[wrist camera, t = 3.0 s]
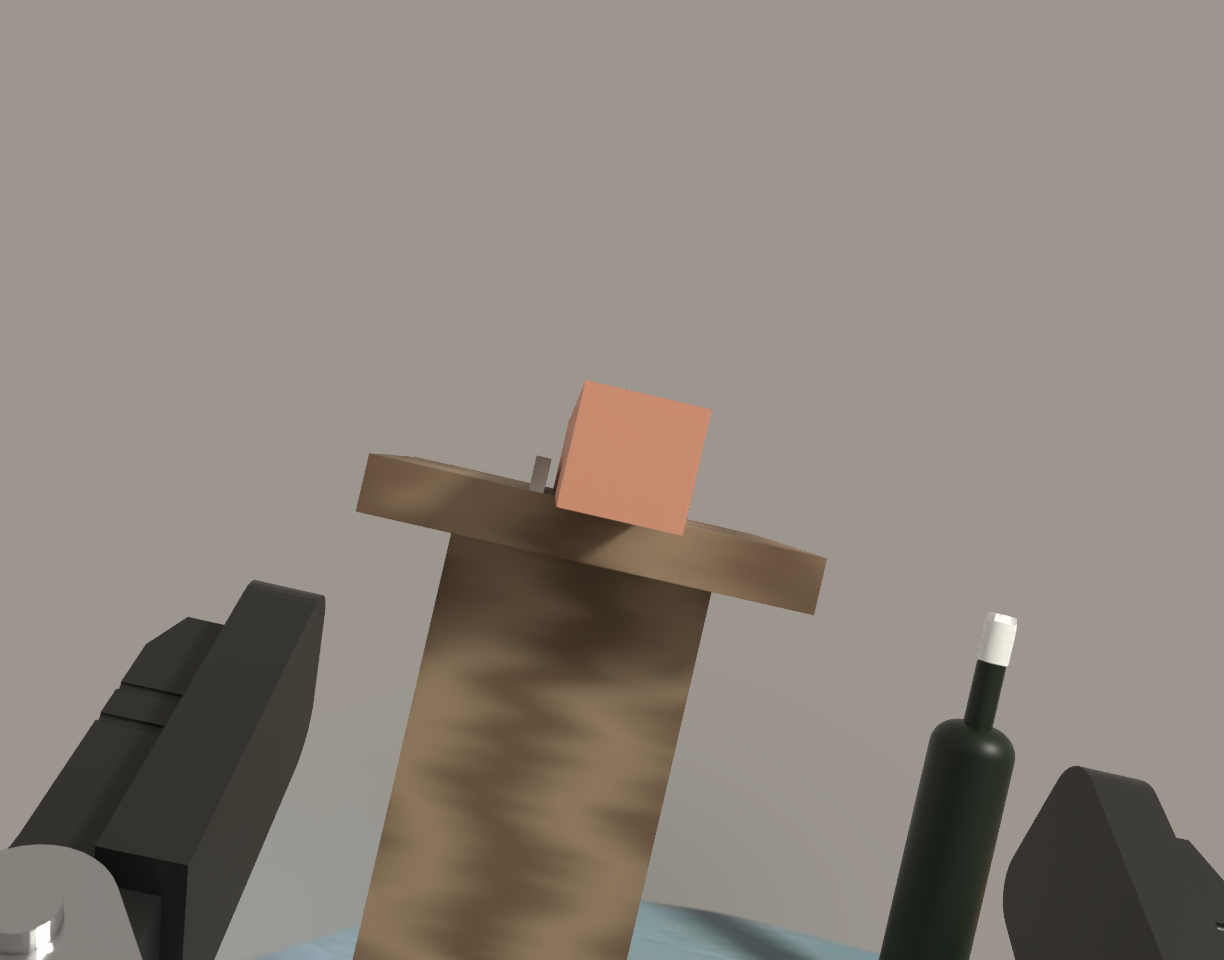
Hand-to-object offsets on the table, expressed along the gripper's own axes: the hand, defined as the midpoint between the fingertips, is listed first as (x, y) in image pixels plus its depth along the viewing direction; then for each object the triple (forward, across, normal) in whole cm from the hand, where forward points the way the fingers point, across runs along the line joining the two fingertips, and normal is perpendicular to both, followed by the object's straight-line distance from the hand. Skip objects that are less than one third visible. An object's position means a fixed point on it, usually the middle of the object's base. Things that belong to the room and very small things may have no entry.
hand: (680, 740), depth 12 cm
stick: (+26, 0, +13) cm, 29 cm away
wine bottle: (+43, -31, +60) cm, 80 cm away
